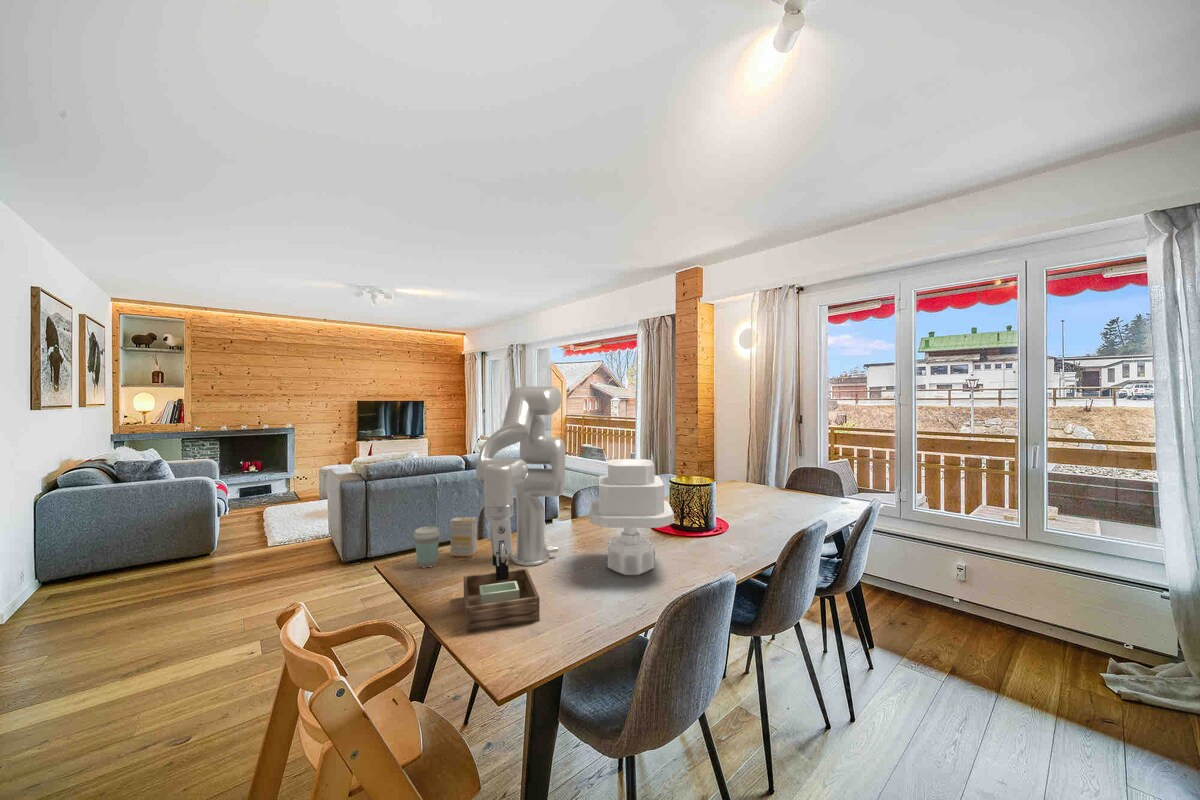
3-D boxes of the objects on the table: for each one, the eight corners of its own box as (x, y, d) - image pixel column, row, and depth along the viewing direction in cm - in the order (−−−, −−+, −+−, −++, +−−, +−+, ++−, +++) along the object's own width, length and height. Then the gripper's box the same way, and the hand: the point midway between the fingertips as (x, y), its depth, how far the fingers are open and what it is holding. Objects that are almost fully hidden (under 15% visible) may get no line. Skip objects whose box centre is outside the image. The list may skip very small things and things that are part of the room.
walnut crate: (527, 588, 136) (526, 568, 136) (540, 622, 116) (540, 598, 116) (463, 597, 130) (463, 576, 130) (466, 634, 110) (465, 609, 110)
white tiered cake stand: (676, 585, 138) (677, 469, 137) (588, 584, 138) (588, 469, 137) (665, 553, 164) (665, 456, 164) (591, 553, 165) (591, 456, 164)
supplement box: (477, 552, 166) (477, 516, 165) (472, 557, 161) (472, 520, 161) (455, 552, 166) (455, 516, 166) (450, 556, 162) (449, 520, 161)
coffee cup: (446, 562, 157) (445, 527, 157) (429, 571, 149) (428, 534, 149) (425, 559, 160) (425, 524, 159) (407, 568, 152) (407, 532, 151)
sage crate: (516, 598, 128) (516, 580, 128) (519, 608, 122) (519, 589, 122) (479, 603, 125) (479, 585, 125) (480, 614, 119) (480, 595, 119)
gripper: (517, 518, 116) (518, 583, 117) (509, 500, 132) (510, 557, 133) (487, 521, 114) (488, 588, 115) (482, 502, 130) (483, 561, 131)
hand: (500, 572), depth 124 cm, fingers open, 9 cm apart
